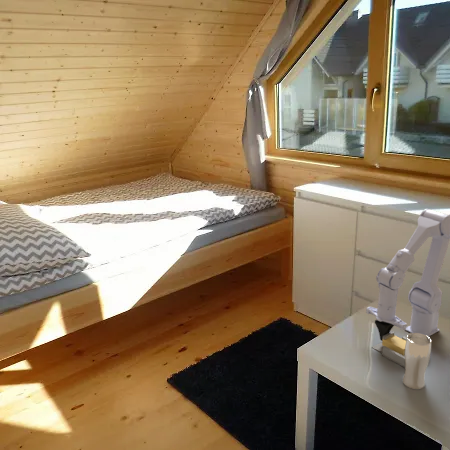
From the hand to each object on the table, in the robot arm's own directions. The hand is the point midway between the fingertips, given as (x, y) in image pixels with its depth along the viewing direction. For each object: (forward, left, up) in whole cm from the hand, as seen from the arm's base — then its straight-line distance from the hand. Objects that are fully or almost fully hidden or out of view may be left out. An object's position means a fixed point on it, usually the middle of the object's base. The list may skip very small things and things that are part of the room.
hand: (383, 339), depth 157 cm
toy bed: (0, +6, -1) cm, 6 cm away
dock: (0, +6, -2) cm, 6 cm away
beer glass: (+10, +18, -2) cm, 21 cm away
